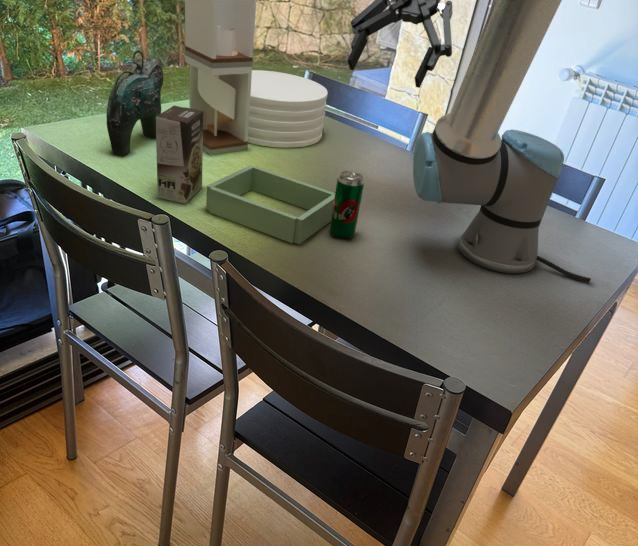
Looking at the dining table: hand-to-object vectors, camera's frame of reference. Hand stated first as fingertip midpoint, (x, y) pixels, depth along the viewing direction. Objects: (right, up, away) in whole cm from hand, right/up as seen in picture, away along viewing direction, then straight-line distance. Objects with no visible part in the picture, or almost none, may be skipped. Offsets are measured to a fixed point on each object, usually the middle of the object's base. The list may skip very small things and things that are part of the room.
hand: (383, 74), depth 111 cm
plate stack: (-25, +9, +52) cm, 59 cm away
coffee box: (-40, -19, +13) cm, 46 cm away
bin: (-21, -24, +11) cm, 33 cm away
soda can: (-7, -28, +8) cm, 30 cm away
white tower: (-37, 0, +38) cm, 53 cm away
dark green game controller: (-54, -3, +31) cm, 63 cm away
